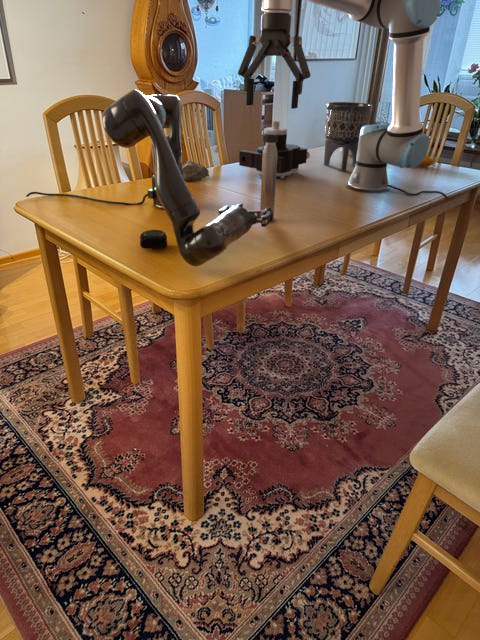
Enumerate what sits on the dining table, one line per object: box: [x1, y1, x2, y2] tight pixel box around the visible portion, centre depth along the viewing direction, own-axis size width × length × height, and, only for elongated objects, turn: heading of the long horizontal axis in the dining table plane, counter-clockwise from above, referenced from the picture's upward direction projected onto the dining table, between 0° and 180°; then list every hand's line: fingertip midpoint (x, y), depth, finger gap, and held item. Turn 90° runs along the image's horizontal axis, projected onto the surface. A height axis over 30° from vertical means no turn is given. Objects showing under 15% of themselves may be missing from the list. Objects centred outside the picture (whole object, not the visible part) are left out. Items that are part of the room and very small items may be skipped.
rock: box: [182, 160, 210, 182], centre depth 182 cm, size 13×9×6 cm, turn 131°
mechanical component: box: [238, 120, 311, 179], centre depth 191 cm, size 22×21×30 cm
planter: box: [323, 101, 374, 172], centre depth 204 cm, size 20×20×26 cm
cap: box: [262, 132, 278, 143], centre depth 128 cm, size 4×4×2 cm
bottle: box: [259, 142, 277, 223], centre depth 134 cm, size 4×4×25 cm
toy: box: [417, 154, 435, 169], centre depth 214 cm, size 11×6×15 cm
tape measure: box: [139, 229, 168, 250], centre depth 117 cm, size 7×7×4 cm
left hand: (255, 208), depth 129 cm, fingers open, 8 cm apart
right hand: (271, 106), depth 124 cm, fingers open, 13 cm apart
